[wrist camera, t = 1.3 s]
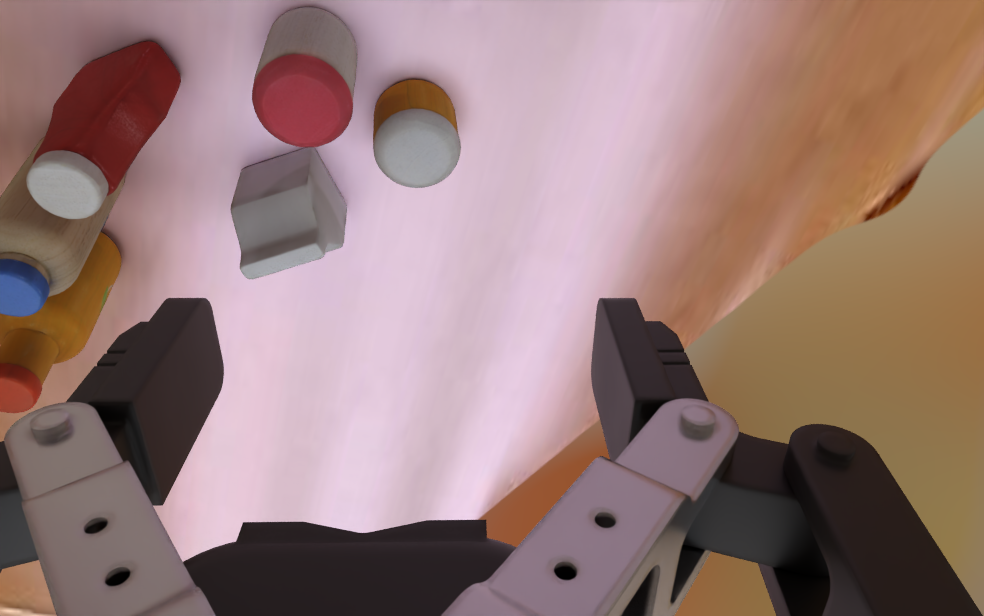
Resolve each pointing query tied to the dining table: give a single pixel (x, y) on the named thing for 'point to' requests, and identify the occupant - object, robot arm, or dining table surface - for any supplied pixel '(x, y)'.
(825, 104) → the dining table surface
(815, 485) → the robot arm
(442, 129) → the toy food
